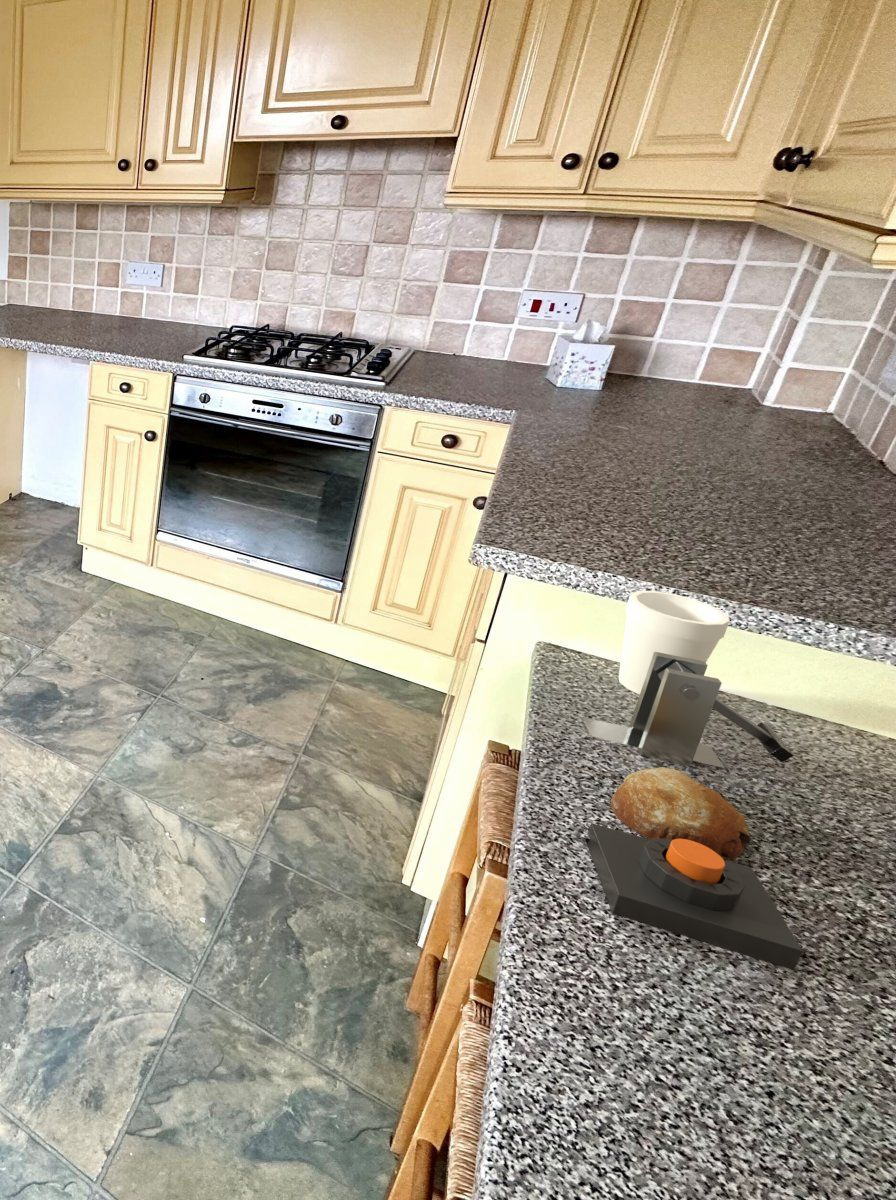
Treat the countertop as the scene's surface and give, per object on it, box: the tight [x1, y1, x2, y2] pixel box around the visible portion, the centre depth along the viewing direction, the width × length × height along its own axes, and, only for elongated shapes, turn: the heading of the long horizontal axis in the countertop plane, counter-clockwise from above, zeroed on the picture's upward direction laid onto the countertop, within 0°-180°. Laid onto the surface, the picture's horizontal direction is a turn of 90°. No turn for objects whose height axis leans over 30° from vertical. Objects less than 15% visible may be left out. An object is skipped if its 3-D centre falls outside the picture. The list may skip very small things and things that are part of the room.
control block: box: [584, 822, 804, 971], centre depth 71 cm, size 12×10×4 cm
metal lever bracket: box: [580, 652, 726, 769], centre depth 88 cm, size 12×9×13 cm
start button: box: [665, 839, 725, 884], centre depth 70 cm, size 4×4×2 cm
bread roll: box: [610, 766, 752, 860], centre depth 79 cm, size 10×10×8 cm
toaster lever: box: [658, 662, 795, 763], centre depth 85 cm, size 12×5×2 cm, turn 60°
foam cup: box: [618, 590, 731, 695], centre depth 101 cm, size 10×9×13 cm
